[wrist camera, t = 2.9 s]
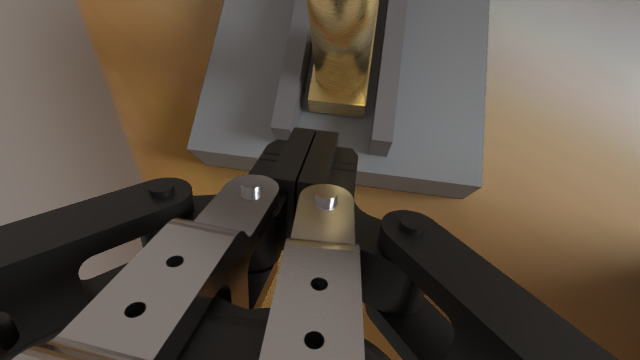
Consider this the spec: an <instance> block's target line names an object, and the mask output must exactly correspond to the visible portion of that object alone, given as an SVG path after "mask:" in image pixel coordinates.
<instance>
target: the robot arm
mask: <svg viewBox="0 0 640 360" xmlns="http://www.w3.org/2000/svg"><path fill="white" fill-rule="evenodd" d="M338 142H339V132H332V131H323V130H317V132H316V130H315V129H306V128H298V127H294V129H293V131H292V133H291V134H290V136H289V138H288V140H280V139H277V140H275V141H273V142H271V143H270V144H268V145H267V146H266V147H265V149H264V151H263V153H262V154H261V155H260V157H259V160H257V162H256V163H255V165H254V166H253V168H252V169H251V171H250V172H249V174H248V175H243V176H239V177H236V178H234V179H232V180H230V181H229V182H228V183H227V184H226V185H225V186H224V187H223V188H222V189H221V190H220V192H219V193H218V194H217V195H202V196H193V194H192V187H191V185H190V184H189V183H188V182H187V181H184V180H182V179H178V178H159V179H154V180H150V181H147V182H143V183H140V184H137V185H134V186H130V187H127V188H124V189H121V190H118V191H114V192H111V193H107V194H104V195H101V196H98V197H94V198H91V199H88V200H85V201H81V202H78V203H75V204H71V205H68V206H65V207H62V208H58V209H55V210H52V211H49V212H46V213H42V214H39V215H36V216H32V217H29V218H26V219H22V220H19V221H16V222H12V223H9V224H6V225H3V226H0V360H391V359H390V358H389V357H388V356H387V355H386V354H385V353H383V352H382V351H381V350H380V349H379V348H378V347H376V346H375V345H373V344H372V343H371V342H369V341H368V340H366V339H364V329H363V307H362V302H363V303H365V308H366V312H367V315H368V316H369V318H370V319H371V321H372V322H373V323H374V324H375V326H376V327H377V328H378V329H379V331H380V332H381V333H382V334H383V335H384V337H385V338H386V339H387V340H388V342H389V343H390V344H391V345H392V347H393V348H394V349H395V350H396V352H397V353H398V354H399V355H400V357H401V358H402V359H403V360H618V359H616V358H615V357H614V356H612V355H611V354H610V353H608V352H607V351H606V350H604V349H603V348H602V347H600V346H599V345H598V344H596V343H595V342H594V341H592V340H591V339H590V338H588V337H587V336H586V335H584V334H583V333H582V332H580V331H579V330H578V329H577V328H575V327H574V326H573V325H571V324H570V323H569V322H567V321H566V320H565V319H563V318H562V317H561V316H559V315H558V314H557V313H555V312H554V311H553V310H551V309H550V308H549V307H547V306H546V305H545V304H543V303H542V302H541V301H539V300H538V299H537V298H536V297H534V296H533V295H532V294H530V293H529V292H528V291H526V290H525V289H524V288H522V287H521V286H520V285H518V284H517V283H516V282H514V281H513V280H512V279H510V278H509V277H508V276H506V275H505V274H504V273H502V272H501V271H500V270H498V269H497V268H496V267H494V266H493V265H492V264H491V263H489V262H488V261H487V260H485V259H484V258H483V257H481V256H480V255H479V254H477V253H476V252H475V251H473V250H472V249H471V248H469V247H468V246H467V245H465V244H464V243H463V242H461V241H460V240H459V239H457V238H456V237H455V236H453V235H452V234H451V233H449V232H448V231H447V230H446V229H444V228H443V227H442V226H440V225H439V224H438V223H436V222H435V221H434V220H432V219H431V218H429V217H427V216H425V215H423V214H421V213H418V212H414V211H408V210H398V211H393V212H390V213H388V214H386V215H385V216H384V217H383V219H382V220H380V219H377V218H375V217H372V216H370V215H368V214H366V213H364V212H363V211H362V210H360V209H359V208H358V207H357V205H356V204H355V202H354V191H355V182H356V173H357V164H358V155H357V154H356V152H355V151H354V149H353V148H345V147H338ZM139 237H141V241H142V246H143V249H142V250H141V251H140V252H139V253H138V254H137V255H136V256H135V257H134V258H133V259H132V260H131V261H130V262H129V263H127V264H124V265H122V266H119V267H117V268H115V269H112V270H110V271H108V272H106V273H103V274H101V275H98V276H96V277H94V278H91V279H88V280H80V278H79V275H78V272H79V268H80V266H81V265H82V263H83V262H84V261H86V260H87V259H88V258H90V257H92V256H94V255H96V254H99V253H101V252H104V251H106V250H109V249H112V248H114V247H117V246H119V245H122V244H124V243H127V242H129V241H132V240H134V239H136V238H139ZM282 250H284V251H283V255H282V260H281V264H280V269H279V273H278V278H277V282H276V286H275V291H274V295H273V300H272V304H271V308H261V306H262V304H263V301H264V299H265V297H266V295H267V292H268V290H269V288H270V286H271V284H272V281H273V279H274V277H275V275H276V272H277V269H278V259H279V257H280V254H281V251H282ZM424 294H426V295H427V296H428V297H429V298H430V299H431V300H432V301H433V302H434V303H435V304H436V305H437V306H438V307H439V308H440V309H441V310H442V311H443V312H444V313H445V314H446V315H447V316H448V317H449V319H450V321H451V323H452V324H451V323H450V322H449V321H448V320H447V319H446V318H445V317H444V316H443V315H442V314H441V313H440V312H439V311H438V310H437V309H436V308H435V307H434V306H433V305H432V304H431V303H430V302H429V301H428V300H427V299H426V298H425V297H424Z"/></svg>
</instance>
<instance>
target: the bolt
mask: <svg viewBox="0 0 640 360" xmlns="http://www.w3.org/2000/svg"><path fill="white" fill-rule="evenodd" d="M378 5H379V0H307V8H308V16H309V25H310V33H311V41H312V49H313V58H314V66H313V72H312V78H311V83H310V89H309V95H308V105H309V110H310V112H317V113H326V114H334V115H343V116H352V117H360V118H364V112H365V105H366V98H367V90H368V82H369V75H370V67H371V59H372V52H373V44H374V36H375V28H376V21H377V13H378Z"/></svg>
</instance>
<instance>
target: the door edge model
mask: <svg viewBox="0 0 640 360" xmlns="http://www.w3.org/2000/svg"><path fill="white" fill-rule="evenodd" d="M488 23H489V0H379V5H378V13H377V21H376V28H375V36H374V44H373V52H372V59H371V67H370V75H369V82H368V90H367V98H366V105H365V112H364V118H360V117H352V116H343V115H334V114H326V113H317V112H310V110H309V105H308V95H309V89H310V83H311V78H312V72H313V66H314V58H313V49H312V41H311V33H310V25H309V16H308V8H307V0H225V1H224V5H223V9H222V13H221V17H220V20H219V24H218V28H217V32H216V36H215V40H214V44H213V48H212V52H211V56H210V60H209V64H208V68H207V71H206V75H205V79H204V83H203V87H202V91H201V95H200V99H199V103H198V107H197V111H196V115H195V118H194V122H193V126H192V130H191V134H190V138H189V142H188V146H187V150H188V151H190V152H191V153H192V154H193V155H194V156H196V157H197V158H198V159H199V160H200V161H202V162H203V163H204V164H205V165H209V166H217V167H225V168H232V169H240V170H247V171H251V169H252V168H253V166H254V165H255V163H256V162H257V160H259V157H260V155H261V154H262V153H263V151H264V149H265V147H266V146H267V145H268V144H270V143H271V142H273V141H275V140H277V139H280V140H288V138H289V136H290V134H291V133H292V131H293V129H294V127H298V128H306V129H315V130H316V132H317V130H323V131H332V132H339V142H338V147H345V148H353V149H354V151H355V152H356V154H357V155H358V164H357V173H356V182H355V185H361V186H368V187H376V188H383V189H391V190H399V191H406V192H414V193H421V194H429V195H436V196H444V197H451V198H459V199H464V198H465V197H467V196H468V195H470V194H472V193H473V192H475V191H476V190H478V189H480V188H481V187H482V170H483V146H484V121H485V96H486V72H487V47H488Z"/></svg>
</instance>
